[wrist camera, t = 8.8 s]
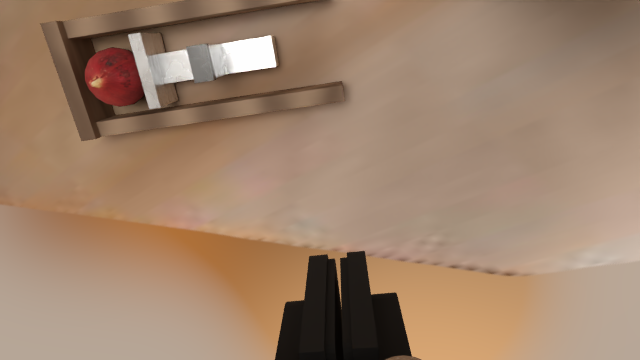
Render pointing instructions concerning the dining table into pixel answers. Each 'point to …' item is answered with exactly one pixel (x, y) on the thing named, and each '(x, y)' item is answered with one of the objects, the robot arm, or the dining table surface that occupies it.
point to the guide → (100, 120)
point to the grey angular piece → (194, 63)
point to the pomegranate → (114, 77)
